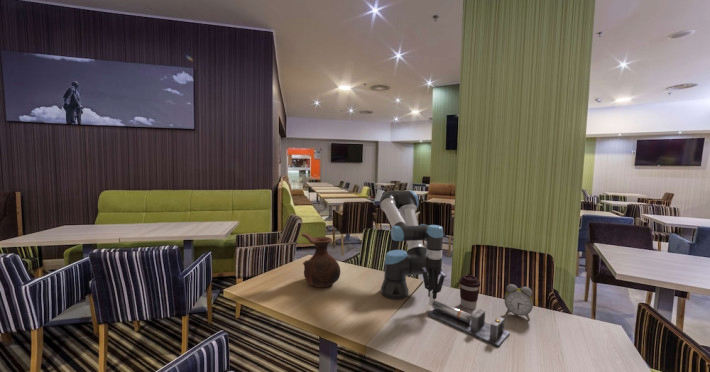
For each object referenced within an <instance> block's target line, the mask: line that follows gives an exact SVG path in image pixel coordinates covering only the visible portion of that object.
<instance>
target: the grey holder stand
mask: <svg viewBox="0 0 710 372" xmlns="http://www.w3.org/2000/svg"><path fill="white" fill-rule="evenodd" d="M471 315H472V316H471V324H469V323H466V322H464V321H462V320H459V319H457V318H455V317H452V316H450V315H448V314H445V313H443V312H441V311H438V310H436V309H434V308H433V309H432V310H430V311H429V312H428V313H427V316H428V317H430V318H432V319H434V320H437V321H439V322H441V323H443V324H445V325H447V324H448V326H449V327H451V328H455V329H456V330H459V331H461V332H463V333H465V334H467V335H469V336H471V337H474V338H475V339H479V340H480V341H482V342H485V343H487V344H490V345H491V346H493V347H496V348H499V347H500V346H501V345H502V344H503V343H504V342H505V341H506V339H507V338H508V337H509V336H510V334H511V332H510V331H508V330H506V329H505V317H502V316H497V317H496V318H494V320H493V321H492V322H491V323H488V322H486V321H485V320H486V319H485V318H486V311H485V310H483V309H481V308H480V309H478V310H476V311H475V312H474V313H473V314H471Z"/></svg>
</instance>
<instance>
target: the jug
mask: <svg viewBox="0 0 710 372" xmlns="http://www.w3.org/2000/svg"><path fill="white" fill-rule="evenodd" d="M301 236H302V237H304V238H305V239H306V240H308V242H309V243H311V244H313V245H314V247H315V251H314V254H313V255H312V256H311V257H310V258H309V259H308V260H305V261H303V262H302V265H303V266H304V269H303V276H304V279H305V281H306V283H307V284H308V285H311V286H314V287H316V288H327V287H330V286H332V285H333V284H335V283H336V282H338V280H339V279H340V276H341V267H340V265H339V262H338V260H336V259H335V258H334V257H333V256H332V255H331V254H329V252H328V247H329V246H328V245H329V244H330V243H331V242H332V241H333V239H332V238H331V237H329V236H314V237H313V236H311V235H310V234H309V233H305V232H302V233H301Z"/></svg>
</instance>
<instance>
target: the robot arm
mask: <svg viewBox="0 0 710 372" xmlns="http://www.w3.org/2000/svg"><path fill="white" fill-rule="evenodd" d="M379 207H380V209H381V210H382V212H384V214H385V216H386V219H387V220H388V222H389V224H390V226H391V228H390V236H391V237H390V238H391V240H393V241H395V242H406V243H407V250H404V249H392V250H389V251H387V252H386V253H385V256H384V277H383V278H384V279H383V282H382V284H381V287H380V294H381V296H383V297H384V298H387V299H390V300H403V299H406V298H407V297H408V296H409V293H410V291H409V287H408V285H407V278H406V277H407V276H413V275H414V276H417V275H422V278H423V284H424V288H425V289H426V290H427V292H428V293H427V294H428V295H427V296H428V297H429V299H428V300H429V303H428V304H429V305H430V306H432V305H433V302H434V301H435V300H436V299H438V298H437V294H438V293H440V292H441V291H442V288H443V284H444V281H445V279H446V277H447V274H446V273H444V272H443V269H442V266H443V259H442V258H443V246H444V245H443V241H444V229H443V226H441V225H439V224H438V225H437V224H430V225H428V224H424V223H421V224H419V221H418V218H417V214H416V211H417V209H418V207H419V197H418V195H417V193H416V192H415V191H413V190H388V191H386V192H385V193H383V194H382V195H381V197H380V199H379ZM423 241H425V243H426V246H424V243H423ZM432 307H433V306H432Z"/></svg>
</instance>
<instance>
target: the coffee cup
mask: <svg viewBox="0 0 710 372" xmlns="http://www.w3.org/2000/svg"><path fill="white" fill-rule="evenodd" d="M458 281H459V284H460V285H459V286H460V287H459V293H460V294H459V295H460V305H461V307H462V308H465V309H467V310H475V309H476V307H477V302H478V299H479V291H480V289H479V288H480V287H481V280H479V279H478V278H477V277H476V276H474V275H471V274H466V275H465V274H464V275H463V276H461V277H460V278H459V280H458Z"/></svg>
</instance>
